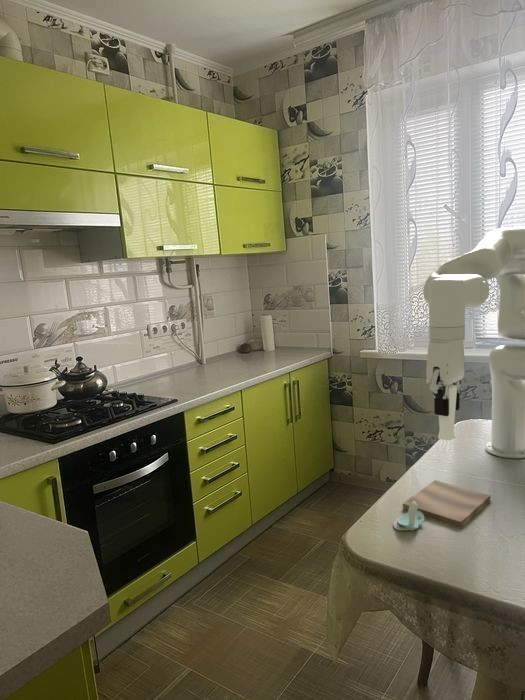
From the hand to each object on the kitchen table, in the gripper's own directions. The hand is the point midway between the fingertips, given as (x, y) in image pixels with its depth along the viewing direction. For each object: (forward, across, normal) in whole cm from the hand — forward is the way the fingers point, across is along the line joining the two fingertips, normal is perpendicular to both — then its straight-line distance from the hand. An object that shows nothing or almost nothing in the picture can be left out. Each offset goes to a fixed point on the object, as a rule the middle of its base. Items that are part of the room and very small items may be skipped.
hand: (447, 411), depth 118 cm
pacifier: (+23, +14, -2) cm, 28 cm away
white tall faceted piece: (+7, 0, 0) cm, 7 cm away
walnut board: (+23, 0, 0) cm, 23 cm away
